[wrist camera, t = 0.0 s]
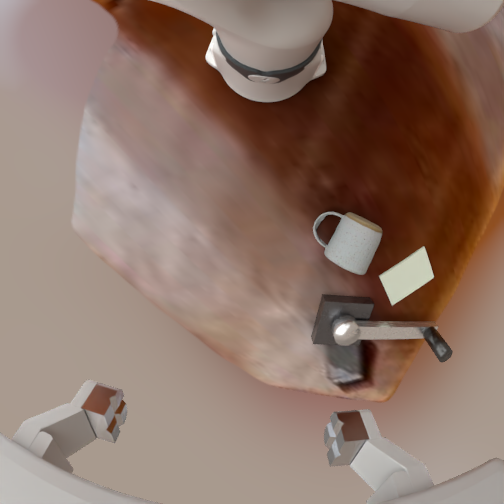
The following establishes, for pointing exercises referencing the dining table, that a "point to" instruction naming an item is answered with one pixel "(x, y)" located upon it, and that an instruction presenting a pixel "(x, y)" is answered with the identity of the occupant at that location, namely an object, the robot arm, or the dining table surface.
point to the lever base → (338, 315)
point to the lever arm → (390, 333)
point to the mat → (407, 276)
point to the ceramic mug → (351, 242)
